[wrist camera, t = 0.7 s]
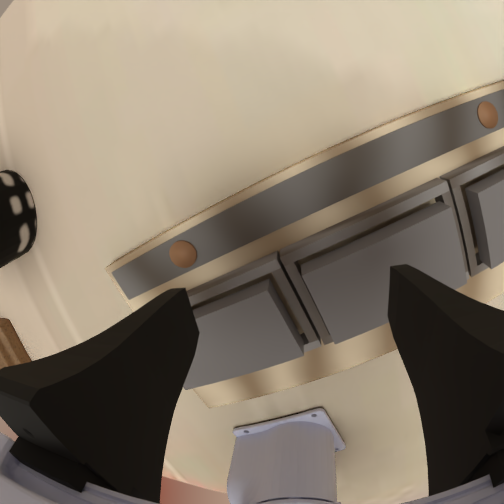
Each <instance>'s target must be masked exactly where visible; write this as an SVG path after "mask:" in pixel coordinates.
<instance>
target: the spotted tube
mask: <svg viewBox="0 0 504 504" xmlns="http://www.w3.org/2000/svg"><path fill="white" fill-rule="evenodd" d="M35 235H36V213H35V207H34V203H33V199H32V196H31V194H30V191H29V189H28V187H27V185H26V183H25V182H24V181H23V179H22V178H21V177H20V176H19V175H18V174H17V173H15V172H13V171H10V170H6V171H1V172H0V268H1V267H3V266H5V265H6V264H8V263H10V262H11V261H13V260H15V259H17V258H18V257H20V256H22V255H23V254H25V253H27V252H28V251H29V250H30V248H31V247H32V245H33V243H34V240H35Z"/></svg>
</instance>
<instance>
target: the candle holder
mask: <svg viewBox="0 0 504 504" xmlns="http://www.w3.org/2000/svg"><path fill="white" fill-rule="evenodd" d="M27 362H31V359H30V358H29V356H28V354H27V352H26V350H25V349H24V347H23V345H22V343H21V341H20V339H19V337H18V336H17V334H16V332H15V330H14V328H13V326H12V324H11V322H10V321H9V320H8V319H3V318H0V369H2V368H3V367H8V366H13V365H18V364H23V363H27Z"/></svg>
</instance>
